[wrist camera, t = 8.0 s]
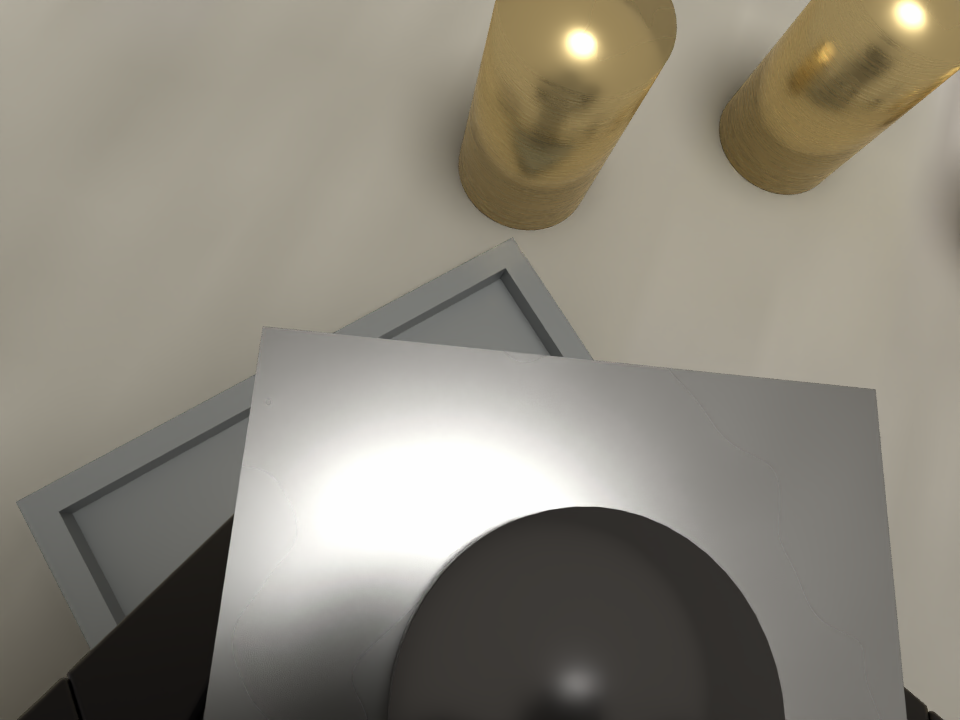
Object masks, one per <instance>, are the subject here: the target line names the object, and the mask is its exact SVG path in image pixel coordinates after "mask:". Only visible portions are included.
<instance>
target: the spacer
mask: <svg viewBox="0 0 960 720" xmlns="http://www.w3.org/2000/svg"><path fill="white" fill-rule="evenodd" d="M676 31H677V24H676V15H675V10H674V6H673V4H672V1H671V0H496V1H495V6H494V10H493V14H492V18H491V23H490V27H489V31H488V36H487V40H486V44H485V48H484V53H483V57H482V61H481V65H480V70H479V74H478V78H477V82H476V87H475V91H474V95H473V100H472V104H471V108H470V112H469V117H468V121H467V125H466V129H465V134H464V138H463V142H462V146H461V151H460V156H459V175H460V179H461V183H462V185H463V188H464V190H465V192H466V194H467V196H468V197H469V199H470V200H471V201H472V203H473V204H474V205H475V206H476V207H477V208H478V209H479V210H480V211H481V212H482V213H483V214H485V215H486V216H487V217H489V218H490V219H492V220H493V221H495V222H497V223H500V224H502V225H504V226H507V227H510V228H515V229H521V230H538V229H544V228H548V227H551V226H554V225H556V224H558V223H560V222H562V221H563V220H565V219H566V218H567V217H569V216H570V215H571V214H572V213H573V212H574V211H575V210H576V208H577V207H578V205H579V204H580V202H581V201H582V199H583V197H584V196H585V194H586V192H587V191H588V189H589V188H590V186H591V184H592V183H593V181H594V179H595V178H596V176H597V174H598V173H599V171H600V170H601V168H602V166H603V165H604V163H605V161H606V160H607V158H608V156H609V155H610V153H611V152H612V150H613V148H614V147H615V145H616V143H617V142H618V140H619V138H620V137H621V135H622V133H623V132H624V130H625V129H626V127H627V125H628V124H629V122H630V120H631V119H632V117H633V115H634V114H635V112H636V111H637V109H638V107H639V106H640V104H641V102H642V101H643V99H644V97H645V96H646V94H647V93H648V91H649V89H650V88H651V86H652V84H653V83H654V81H655V79H656V78H657V76H658V75H659V73H660V71H661V70H662V68H663V66H664V65H665V63H666V61H667V60H668V58H669V56H670V54H671V52H672V50H673V47H674V43H675V39H676Z"/></svg>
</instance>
